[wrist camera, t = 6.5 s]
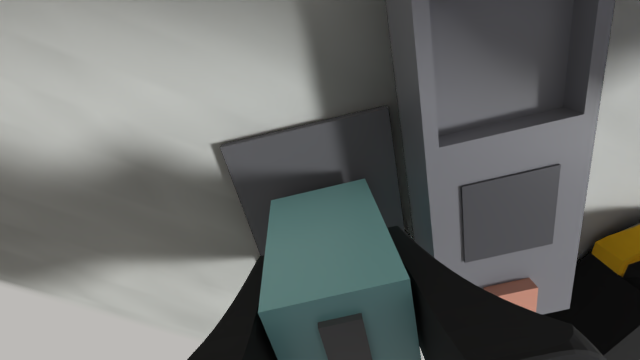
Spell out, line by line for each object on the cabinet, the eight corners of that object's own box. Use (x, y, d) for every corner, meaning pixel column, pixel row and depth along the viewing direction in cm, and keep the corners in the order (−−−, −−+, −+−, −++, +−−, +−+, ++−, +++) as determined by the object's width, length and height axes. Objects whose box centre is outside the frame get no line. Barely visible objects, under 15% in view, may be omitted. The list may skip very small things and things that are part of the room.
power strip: (379, -54, 12) (411, -81, 8) (554, -99, 11) (657, -143, 8) (420, 289, 19) (446, 347, 15) (529, 265, 18) (579, 319, 15)
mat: (385, 105, 14) (388, 107, 14) (408, 270, 18) (410, 275, 18) (222, 144, 14) (220, 147, 14) (279, 298, 18) (279, 304, 18)
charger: (364, 178, 14) (412, 284, 9) (378, 253, 16) (425, 382, 10) (270, 200, 14) (257, 318, 9) (295, 272, 16) (296, 410, 10)
